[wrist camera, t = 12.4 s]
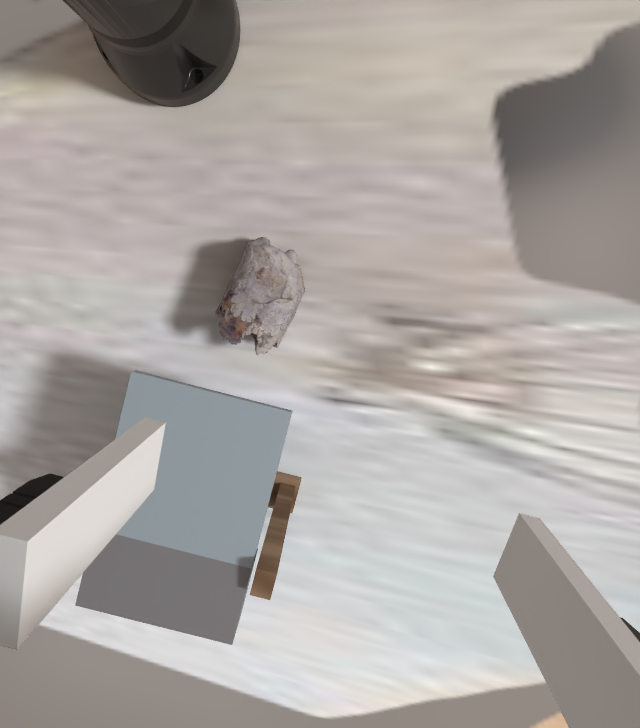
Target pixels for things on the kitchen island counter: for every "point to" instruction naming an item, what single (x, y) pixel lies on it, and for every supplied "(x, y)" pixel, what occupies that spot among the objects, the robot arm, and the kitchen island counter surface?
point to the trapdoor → (191, 511)
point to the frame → (275, 533)
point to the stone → (261, 296)
